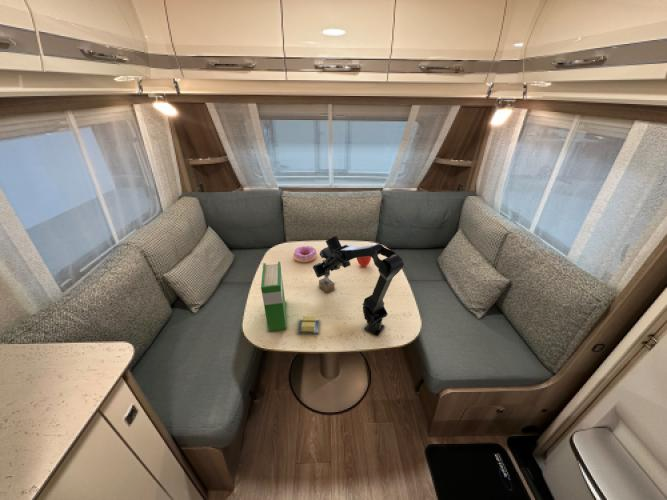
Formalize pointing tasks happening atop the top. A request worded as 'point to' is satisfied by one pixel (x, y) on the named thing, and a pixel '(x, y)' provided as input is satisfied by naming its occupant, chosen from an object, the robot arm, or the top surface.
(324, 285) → the brown rectangular block
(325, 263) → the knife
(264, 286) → the hardback book
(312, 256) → the donut
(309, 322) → the butter dish
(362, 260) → the apple
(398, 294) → the top surface
